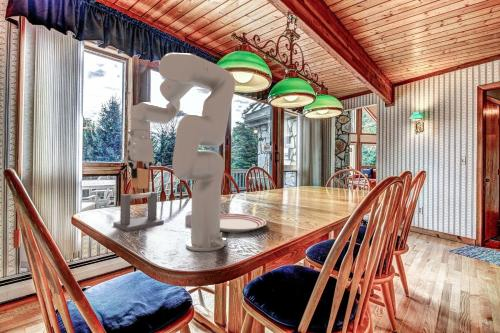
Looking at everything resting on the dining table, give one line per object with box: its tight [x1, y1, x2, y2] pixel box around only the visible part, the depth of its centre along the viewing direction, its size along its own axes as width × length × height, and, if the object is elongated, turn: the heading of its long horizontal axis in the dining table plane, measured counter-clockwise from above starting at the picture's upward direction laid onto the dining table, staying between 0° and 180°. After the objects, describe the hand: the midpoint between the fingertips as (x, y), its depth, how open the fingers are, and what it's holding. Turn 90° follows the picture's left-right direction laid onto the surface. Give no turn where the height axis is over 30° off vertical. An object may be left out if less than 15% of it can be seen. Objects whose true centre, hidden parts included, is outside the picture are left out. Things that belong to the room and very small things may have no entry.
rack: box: [113, 191, 165, 232], centre depth 108 cm, size 12×16×14 cm
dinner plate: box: [220, 213, 267, 233], centre depth 109 cm, size 28×27×3 cm
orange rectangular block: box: [130, 168, 149, 190], centre depth 108 cm, size 7×4×8 cm, turn 52°
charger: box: [184, 210, 192, 226], centre depth 117 cm, size 5×9×15 cm
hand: (139, 177), depth 108 cm, fingers closed on orange rectangular block, 4 cm apart
